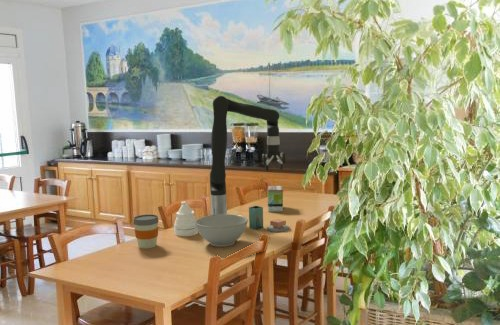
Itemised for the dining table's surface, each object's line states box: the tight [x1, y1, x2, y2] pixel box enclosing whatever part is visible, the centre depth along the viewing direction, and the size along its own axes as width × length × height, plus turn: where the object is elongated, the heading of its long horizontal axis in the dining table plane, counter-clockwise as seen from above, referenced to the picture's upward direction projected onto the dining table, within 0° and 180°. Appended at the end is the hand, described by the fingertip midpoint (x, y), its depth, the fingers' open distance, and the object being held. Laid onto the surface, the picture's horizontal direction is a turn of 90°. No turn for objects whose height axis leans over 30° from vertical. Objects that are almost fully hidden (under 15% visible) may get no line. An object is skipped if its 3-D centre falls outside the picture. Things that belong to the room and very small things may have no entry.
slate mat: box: [266, 224, 291, 233], centre depth 278 cm, size 13×13×1 cm
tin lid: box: [269, 218, 287, 229], centre depth 277 cm, size 6×6×4 cm
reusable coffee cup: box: [133, 214, 159, 249], centre depth 251 cm, size 13×13×15 cm
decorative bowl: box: [195, 213, 249, 248], centre depth 253 cm, size 27×27×12 cm
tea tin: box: [248, 205, 264, 230], centre depth 281 cm, size 6×6×12 cm
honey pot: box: [173, 201, 199, 237], centre depth 274 cm, size 13×13×18 cm
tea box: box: [267, 185, 284, 213], centre depth 326 cm, size 15×10×15 cm, turn 179°
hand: (273, 170), depth 295 cm, fingers open, 8 cm apart
